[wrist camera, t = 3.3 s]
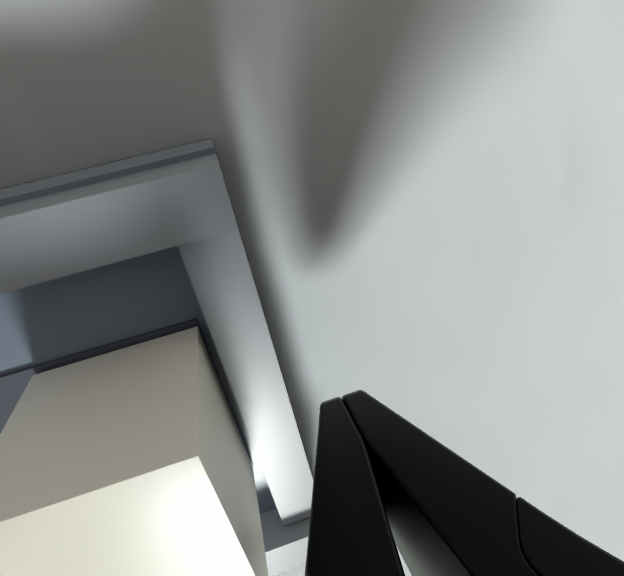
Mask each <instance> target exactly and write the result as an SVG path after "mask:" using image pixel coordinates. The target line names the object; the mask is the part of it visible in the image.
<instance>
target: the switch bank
mask: <svg viewBox="0 0 624 576" xmlns="http://www.w3.org/2000/svg"><path fill="white" fill-rule="evenodd" d="M197 326H198V329H199V331H200V334H201V336H202V339H203V342H204V344H205V347H206V349H207V352H208V354H209V357H210V359H211V362H212V364H213V367H214V369H215V372H216V375H217V377H218V380H219V382H220V385H221V387H222V390H223V392H224V395H225V397H226V400H227V402H228V405H229V408H230V410H231V413H232V415H233V418H234V420H235V423H236V425H237V428H238V430H239V433H240V435H241V438H242V441H243V443H244V446H245V448H246V451H247V453H248V456H249V458H250V461H251V463H252V466H253V472H254V479H255V486H256V492H257V499H258V506H259V513H260V520H261V527H262V534H263V541H264V547H265V554H266V561H267V568H268V575H269V576H275V575H277V574H280V573H283V572H285V571H288V570H290V569H293V568H296V567H298V566H301V565H304V564H306V557H307V546H308V535H309V524H310V513H311V502H312V491H313V477H312V473H311V470H310V467H309V463H308V460H307V457H306V453H305V450H304V447H303V443H302V440H301V437H300V433H299V430H298V426H297V423H296V420H295V416H294V413H293V410H292V406H291V403H290V400H289V396H288V393H287V389H286V386H285V383H284V379H283V376H282V373H281V369H280V366H279V363H278V359H277V356H276V353H275V349H274V346H273V342H272V339H271V336H270V332H269V329H268V326H267V322H266V319H265V316H264V312H263V309H262V305H261V302H260V299H259V295H258V292H257V289H256V285H255V282H254V279H253V275H252V272H251V269H250V265H249V262H248V258H247V255H246V252H245V248H244V245H243V242H242V238H241V235H240V232H239V228H238V225H237V221H236V218H235V215H234V211H233V208H232V205H231V201H230V198H229V195H228V191H227V188H226V185H225V181H224V178H223V174H222V171H221V168H220V164H219V161H218V158H217V154H216V151H215V148H214V144H213V141H212V138H210V139H206V140H202V141H198V142H194V143H190V144H186V145H181V146H177V147H173V148H169V149H165V150H161V151H157V152H153V153H149V154H144V155H140V156H136V157H132V158H128V159H124V160H120V161H116V162H111V163H107V164H103V165H99V166H95V167H91V168H87V169H83V170H79V171H74V172H70V173H66V174H62V175H58V176H54V177H50V178H46V179H41V180H37V181H33V182H29V183H25V184H21V185H17V186H13V187H9V188H4V189H0V434H1V432H2V430H3V428H4V426H5V425H6V423H7V421H8V419H9V417H10V416H11V414H12V412H13V410H14V408H15V407H16V405H17V403H18V401H19V399H20V397H21V396H22V394H23V392H24V390H25V388H26V387H27V385H28V383H29V381H30V379H31V378H32V376H33V375H35V374H39V373H42V372H45V371H49V370H52V369H55V368H59V367H62V366H65V365H69V364H72V363H76V362H79V361H82V360H86V359H89V358H92V357H96V356H99V355H103V354H106V353H109V352H113V351H116V350H119V349H123V348H126V347H130V346H133V345H136V344H140V343H143V342H146V341H150V340H153V339H156V338H160V337H163V336H167V335H170V334H173V333H177V332H180V331H183V330H187V329H190V328H194V327H197Z"/></svg>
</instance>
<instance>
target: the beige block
mask: <svg viewBox="0 0 624 576" xmlns="http://www.w3.org/2000/svg"><path fill="white" fill-rule="evenodd" d="M0 576H269V575H268V568H267V561H266V554H265V547H264V541H263V534H262V527H261V520H260V513H259V506H258V499H257V492H256V486H255V479H254V472H253V466H252V463H251V461H250V458H249V456H248V453H247V451H246V448H245V446H244V443H243V441H242V438H241V435H240V433H239V430H238V428H237V425H236V423H235V420H234V418H233V415H232V413H231V410H230V408H229V405H228V402H227V400H226V397H225V395H224V392H223V390H222V387H221V385H220V382H219V380H218V377H217V375H216V372H215V369H214V367H213V364H212V362H211V359H210V357H209V354H208V352H207V349H206V347H205V344H204V342H203V339H202V336H201V334H200V331H199V329H198V326H197V327H194V328H190V329H187V330H183V331H180V332H177V333H173V334H170V335H167V336H163V337H160V338H156V339H153V340H150V341H146V342H143V343H140V344H136V345H133V346H130V347H126V348H123V349H119V350H116V351H113V352H109V353H106V354H103V355H99V356H96V357H92V358H89V359H86V360H82V361H79V362H76V363H72V364H69V365H65V366H62V367H59V368H55V369H52V370H49V371H45V372H42V373H39V374H35V375H33V376H32V378H31V379H30V381H29V383H28V385H27V387H26V388H25V390H24V392H23V394H22V396H21V397H20V399H19V401H18V403H17V405H16V407H15V408H14V410H13V412H12V414H11V416H10V417H9V419H8V421H7V423H6V425H5V426H4V428H3V430H2V432H1V434H0Z"/></svg>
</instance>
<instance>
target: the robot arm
mask: <svg viewBox="0 0 624 576" xmlns="http://www.w3.org/2000/svg"><path fill="white" fill-rule="evenodd" d="M395 543H396V544H395ZM396 545H397V547H398V549H399V551H400V553H401V555H402V557H403V559H404V561H405V563H406V565H407V567H408V569H409V571H410V572H411V574H412V576H624V562H623V561H622V560H620V559H618V558H616V557H615V556H613V555H611V554H610V553H608V552H606V551H604V550H603V549H601V548H599V547H598V546H596V545H594V544H592V543H591V542H589V541H587V540H586V539H584V538H582V537H581V536H579V535H577V534H576V533H574V532H573V531H571V530H569V529H568V528H566V527H565V526H563V525H562V524H560V523H559V522H557V521H556V520H554V519H552V518H551V517H549V516H548V515H546V514H545V513H543V512H542V511H540V510H539V509H537V508H536V507H534V506H533V505H531V504H530V503H528V502H527V501H525V500H524V499H523V498H521V497H518V498H517V499H516V495H515V493H513V492H512V491H510V490H509V489H507V488H506V487H504V486H503V485H502V484H500V483H499V482H497V481H496V480H494V479H493V478H491V477H490V476H488V475H487V474H485V473H484V472H482V471H481V470H479V469H478V468H476V467H475V466H473V465H472V464H470V463H469V462H468V461H466V460H465V459H463V458H462V457H460V456H459V455H457V454H456V453H454V452H453V451H451V450H450V449H448V448H447V447H445V446H444V445H442V444H441V443H439V442H438V441H437V440H435V439H434V438H432V437H431V436H429V435H428V434H426V433H425V432H423V431H422V430H420V429H419V428H417V427H416V426H414V425H413V424H411V423H410V422H408V421H407V420H405V419H404V418H403V417H401V416H400V415H398V414H397V413H395V412H394V411H392V410H391V409H389V408H388V407H386V406H385V405H383V404H382V403H380V402H379V401H377V400H376V399H374V398H373V397H372V396H370V395H369V394H367V393H366V392H364V391H362V390H358V391H355V392H352V393H349V394H346V395H344V396H343V397H342V399H341V398H340V397H337V398H334V399H331V400H328V401H325V402H322V403H321V406H320V415H319V426H318V437H317V448H316V459H315V469H314V480H313V491H312V502H311V513H310V524H309V535H308V546H307V557H306V568H305V576H405V574H404V571H403V567H402V564H401V561H400V557H399V554H398V551H397V547H396Z"/></svg>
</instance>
